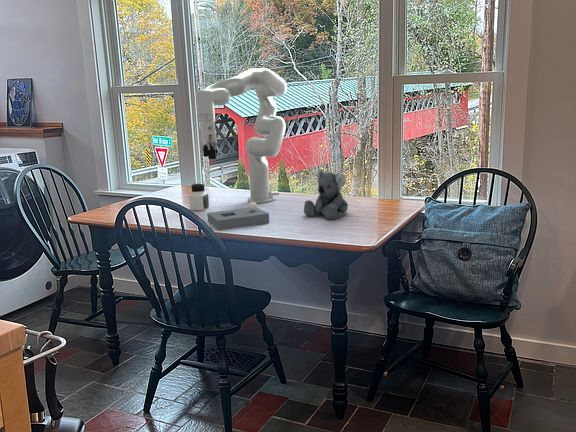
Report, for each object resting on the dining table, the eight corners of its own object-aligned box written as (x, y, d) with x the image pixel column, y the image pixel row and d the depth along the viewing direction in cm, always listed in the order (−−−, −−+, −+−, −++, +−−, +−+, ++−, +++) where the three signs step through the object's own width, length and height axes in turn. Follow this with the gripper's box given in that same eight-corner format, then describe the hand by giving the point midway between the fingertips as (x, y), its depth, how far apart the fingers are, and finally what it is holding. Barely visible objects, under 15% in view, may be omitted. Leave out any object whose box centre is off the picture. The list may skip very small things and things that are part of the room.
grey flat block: (255, 215, 254) (255, 206, 253) (269, 222, 240) (268, 213, 239) (207, 222, 246) (207, 212, 245) (218, 230, 232) (218, 220, 231)
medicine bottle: (204, 210, 268) (202, 185, 265) (189, 210, 270) (187, 185, 267) (209, 207, 275) (207, 182, 272) (195, 207, 277) (193, 182, 274)
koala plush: (301, 216, 249) (299, 171, 245) (327, 208, 262) (325, 166, 257) (332, 221, 238) (331, 175, 233) (357, 213, 250) (357, 168, 246)
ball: (255, 209, 247) (255, 200, 246) (259, 211, 244) (258, 202, 243) (247, 210, 246) (246, 201, 245) (250, 212, 242) (249, 203, 241)
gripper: (219, 118, 242) (222, 159, 246) (210, 116, 258) (213, 154, 262) (202, 120, 239) (205, 160, 243) (193, 118, 255) (196, 156, 259)
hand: (209, 157), depth 253 cm, fingers open, 9 cm apart
